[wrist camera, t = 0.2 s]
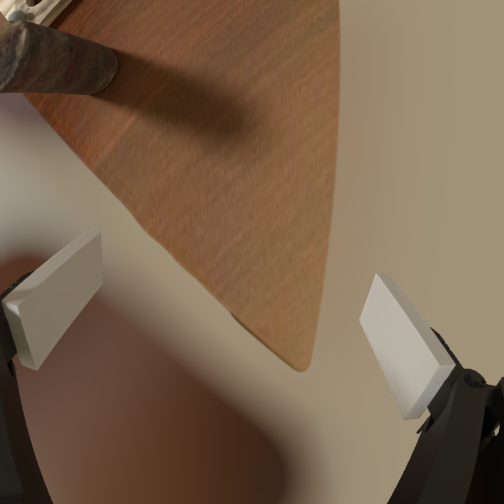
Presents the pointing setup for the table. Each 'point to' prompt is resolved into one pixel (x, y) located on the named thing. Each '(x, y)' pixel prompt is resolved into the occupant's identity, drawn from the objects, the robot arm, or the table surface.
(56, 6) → the board
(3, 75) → the candle
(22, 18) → the grey ball
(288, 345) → the table surface
